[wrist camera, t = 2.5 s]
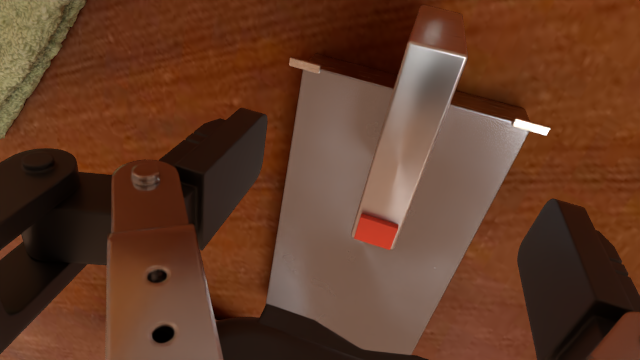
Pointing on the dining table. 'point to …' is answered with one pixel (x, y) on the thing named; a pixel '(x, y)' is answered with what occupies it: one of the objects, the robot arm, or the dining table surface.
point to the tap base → (345, 195)
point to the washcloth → (29, 48)
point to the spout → (411, 124)
